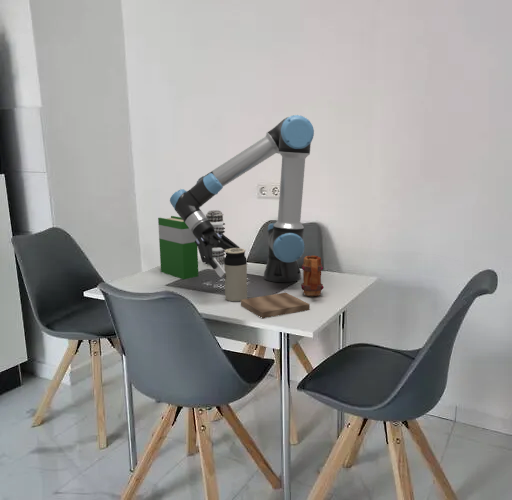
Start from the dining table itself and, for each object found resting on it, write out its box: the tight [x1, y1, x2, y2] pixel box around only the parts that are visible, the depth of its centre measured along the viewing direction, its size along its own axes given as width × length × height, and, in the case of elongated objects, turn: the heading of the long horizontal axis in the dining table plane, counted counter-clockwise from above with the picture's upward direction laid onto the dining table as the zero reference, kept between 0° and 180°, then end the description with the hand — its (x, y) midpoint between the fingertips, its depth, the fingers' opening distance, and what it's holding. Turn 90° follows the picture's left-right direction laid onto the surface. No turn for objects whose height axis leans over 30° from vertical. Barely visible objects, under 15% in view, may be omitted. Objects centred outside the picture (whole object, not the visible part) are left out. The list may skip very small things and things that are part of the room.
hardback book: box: [157, 215, 199, 280], centre depth 230 cm, size 18×7×24 cm, turn 42°
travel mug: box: [223, 247, 248, 303], centre depth 194 cm, size 8×8×18 cm
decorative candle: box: [205, 209, 226, 268], centre depth 245 cm, size 9×9×25 cm
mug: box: [300, 255, 325, 297], centre depth 195 cm, size 15×8×15 cm, turn 178°
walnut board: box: [240, 292, 311, 319], centre depth 185 cm, size 18×16×2 cm
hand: (234, 270), depth 193 cm, fingers open, 13 cm apart
